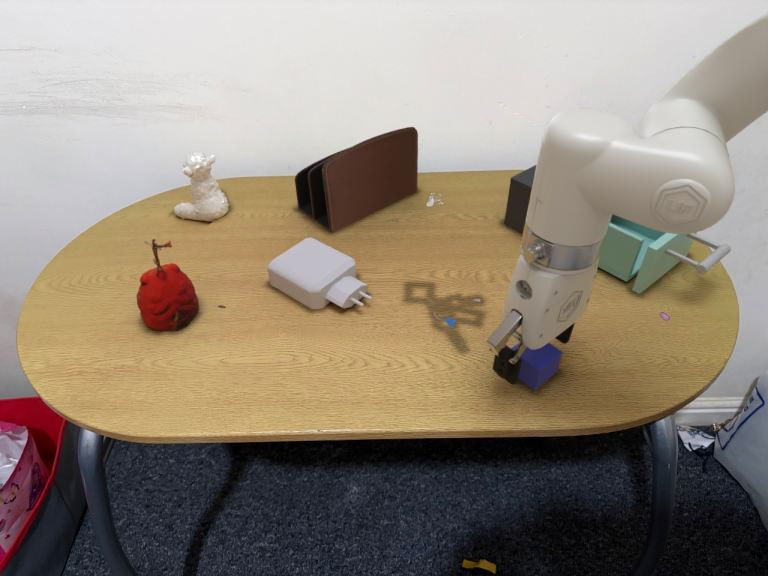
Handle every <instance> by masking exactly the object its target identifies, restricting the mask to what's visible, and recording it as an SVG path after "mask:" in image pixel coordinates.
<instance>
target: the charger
mask: <svg viewBox="0 0 768 576" xmlns="http://www.w3.org/2000/svg"><path fill="white" fill-rule="evenodd" d="M266 269H267V275H268V279H269V283H270V286H272V287H274V288H275V289H277V290H279V291H280V292H282V293H284V294H285V295H287V296H289V297H290V298H292V299H294V300H296V301H297V302H299V303H301V304H302V305H304V306H306V307H307V308H309V309H311V310H321V309H323V308H325V307H326V306H327V305H329V304H330V303H333V304H335V305H337V306H339V307H341V309H347V308H352V307H353V306H354V305H358V306H360V307H361V308H363V307H364V306H365V304H364V303H363V302H361V301H360V300H362V298H365V299H367V300H369V301H372V300H373V297H372V296H370V295H369V294H367V291H368V290H369V287H370V285H369V284H367V283H365V282H363V281H362V280H360V279H358V278H357V267H356V260H355V258H354V257H352V256H349V255H347V254H345V253H343V252H341V251H339V250H337V249H335V248H334V247H331V246H329V245H328V244H326V243H323V242H322V241H319V240H318V239H315V238H314V237H311V236H310V237H309V236H308V237H306V238H304V239H303V240H301V241H300V242H298V243H297V244H295V245H293V246H291V247H290V248H288V249H287V250H286V251H284V252H283V253H281V254H280V255H277V256H275V258H273V259H272V260H271V261H270V262H269V263H268V264H267V268H266Z"/></svg>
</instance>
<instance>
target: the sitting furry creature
mask: <svg viewBox="0 0 768 576" xmlns="http://www.w3.org/2000/svg"><path fill="white" fill-rule="evenodd" d="M185 158H186V159H185V161H184V163H182V167H183V168H182V171H183V174H184V175H185V176H187V177H188V178H190V180H189V181H190V185H189V188H190V194H191V196H192V201H193V202H192V203H191V202H180V203H179V204H176V206H174V208H173V212H174V214H175V215H176V216H177V217H179V218H181V219H182V220H184V219H187V220H192V221H199V222H202V221H203V222H208V223H210V222H211V223H212V222H214V221H215V220H219V219H220V218H223V217H224V216H225V215H226V214H228V213H229V206H230V204H229V201H228V198H227V196H226V194H225V193H224V192H223V191H222V189H221V188H220V185H219V183H218V181H217V180H216V178H215V177H213V176H212V175H211V171H212V165H213V164H214V163H215V162H216V155H215V154H209V155H205V153H204V152H202V151H194V152H192V153H189V154H188V155H186V156H185Z"/></svg>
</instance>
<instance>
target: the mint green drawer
mask: <svg viewBox="0 0 768 576" xmlns="http://www.w3.org/2000/svg"><path fill="white" fill-rule="evenodd" d="M697 233H698V232H695V233H690V234H672V233H666V232H661V231H657V230H654V229H651V228H648V227H645V226H642V225H639V224H637V223H634V222H632V221H629V220H627V219H624V218H621V217H619V216H616V215H613V214H612V217H611V220H610V223H609V226H608V230H607V233H606V236H605V239H604V242H603V245H602V248H601V251H600V254H599V262H598V268H599V269H601V270H603V271H605V272H607V273H609V274H611V275H612V276H614V277H616V278H618V279H620V280H622V281H624V282H626V283H627V282H629V281H630V280H632V279H633V278H634V277H635V276H636V278H635V281H634V283H633V286H632V287H631V291H632V292H634V293H636V294H638V295H641V294H642V293H643V292H645V291H646V290H647V289H648V288H650V287H651V286H652V285H653V284H654V283H656V281H658V280H659V279H661V278H662V277H663V276H664V275H665V274H666V273H668V272H669V271H670V270H672V269H673V268H674V267H675V266H676V265H677V264H679V263H680V262H681V263H684V264H686V265H688V266H690V267H692V268H694V269H695V271H696V273H697V274H699V275H705V274H707V273H708V272H709V271H710V270H711V269H712V268H713V267H714V266H716V265H717V264H718V263H719V262H720V261H721V260H723V259H724V258H725V257H726V256H728V254H729V253H730V252H731V251H732V247H731V246H730V245H729V244H727V243H722V244H719V243H717V242H714V241H712V240H710V239H708V238H706V237H703V236H700V235H699V234H697ZM694 241H696V242H698V243H700V244H702V245H705V246H707V247H710V248H712V249H713V251H712V252H711V253H710V254H709V255H707V256H706V257H705V258H704V259H702V260H701V261H700V262H699V261H696V260H695V259H694V260H693V259H692V258H689V257H687V256H688V254H689V252H690V249H691V248H692V245H693V243H694Z"/></svg>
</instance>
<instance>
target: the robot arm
mask: <svg viewBox="0 0 768 576" xmlns="http://www.w3.org/2000/svg"><path fill="white" fill-rule="evenodd" d="M766 113H768V11H767V12H765V13H763V14H762V15H760V16H759V17H758V18H756V19H754V20H752V21H751V22H750V23H748V24H746V25H745V26H743V27H741V28H740V29H739V30H737V31H736V32H734V33H733V34H731V35H730V36H729V37H727V38H726V39H724V40H723V41H721V43H719V44H717V45H716V46H715V47H714V48H713V49H712V50H710V51H708V53H706V54H705V55H704V56H703V57H701V58H700V59H699V60H698V62H696V63H695V64H694V65H693V66H691V68H689V69H688V70H687V71H686V72H685V73H684V74H683V75H682V76H681V77H680V78H679V79H677V81H675V82H674V83H673V84H672V85H671V86H670V87H669V88H667V90H665V92H664V93H662V94H661V95H660V96H659V98H657V99H656V100H655V101H654V102H653V103H652V104H651V105H650V106H649V107H648V108H647V109H646V110H645V112H644V113H643V114H642V115H641V117H640V119H638V121H637V123H636V125H634V128H633V125H631V123H630V122H629V121H628V120H626V119H625V118H624V117H622V116H620V115H618V114H616V113H614V112H610V111H608V110H603V109H598V108H589V107H582V108H581V107H577V108H569V109H565V110H562V111H560V112H558V113H556V114H555V115H553V117H551V118H550V119H549V120H548V122H547V123H546V125H545V127H544V129H543V132H542V137H541V140H540V146H539V151H538V156H537V161H536V164H535V165H536V170H535V175H534V180H533V185H532V191H531V196H530V201H529V206H528V210H527V216H526V220H525V225H524V230H523V234H521V235H522V236H521V240H520V241H521V242H520V252H521V254H520V255H519V257H518V260H517V262H516V265H515V267H514V270H513V272H512V275H511V279H510V282H509V285H508V289H507V293H506V296H505V300H504V305H503V309H502V315H501V323H500V325H498V327H497V328H496V329H495V330H494V331H493V333H491V334H490V336H489V337H488V338H487V341H486V344H487V346H488V348H489V349H488V350H489V351H490V352H492V353H493V354H494V359H493V364H492V371H494V373H495V374H496V375H497V376H498V377H500V378H501V379H503V380H505V381H506V382H507V383H509V384H510V385H511V386H514V385H516V384H518V380H519V379H518V377H519V373H520V368H521V364H522V360H521V359H520V357H521V355H522V354H523V352H524V351H525V349H526V348H527V347H528V348H530V349H531V350H536V349H539V348H541V347H543V346H545V345H546V344H547V343H550V342H552V341H553V340H554V339H555V340H557V341H558V342H560V343H562V344H567V343H569V342H570V339H571V336H572V333H573V330H574V328H575V325H576V322H577V321H578V320H579V319H581V318H582V317H583V315H585V313H586V311H587V309H588V306H589V303H590V299H591V296H592V292H593V288H594V286H595V281H596V277H597V272H598V268H599V267H598V262H599V254H600V251H601V248H602V245H603V242H604V239H605V236H606V233H607V230H608V226H609V223H610V220H611V217H612V214H613V215H616V216H619V217H621V218H624V219H627V220H629V221H632V222H634V223H637V224H639V225H642V226H645V227H648V228H651V229H654V230H657V231H661V232H666V233H672V234H690V233H695V232H697V233H699V232H702V231H706V230H707V229H709V228H711V227H713V226H714V225H716V224H717V223H719V222H720V221H721V220H722V219H723V218H724V217H725V216H726V215H727V213H728V212H729V210H730V208H731V206H732V204H733V202H734V197H735V192H736V191H735V190H736V184H735V176H734V171H733V166H732V163H731V160H730V154H729V150H728V146H727V143H728V142H730V141H731V140H732V139H733V138H735V137H736V136H737V135H739V134H740V133H741V132H742V131H744V130H745V129H746V128H747V127H749V126H750V125H751V124H752V123H754V122H755V121H756V120H758V119H759V118H761V117H762V116H764V115H765V114H766ZM519 328H520V331H519V330H518V329H519ZM511 337H513V338H515V339H516V340H518V341H519V342H518V343H519V344H518V343H517V344H518V346H517V347H516V349H515V350H512V349H511V348H512V347H510V346H509V345H507V343H508V341H509V340H510V338H511Z"/></svg>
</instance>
